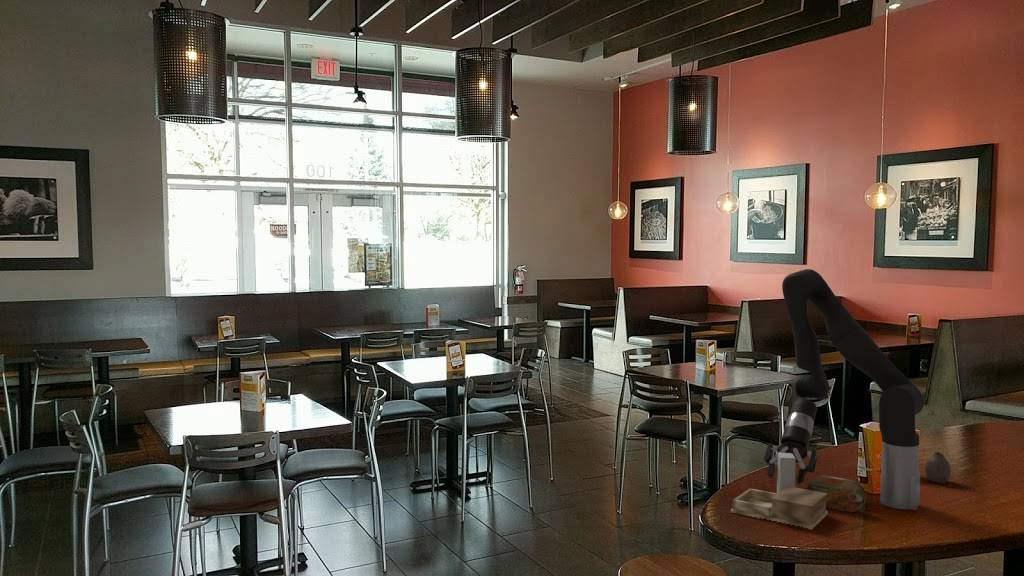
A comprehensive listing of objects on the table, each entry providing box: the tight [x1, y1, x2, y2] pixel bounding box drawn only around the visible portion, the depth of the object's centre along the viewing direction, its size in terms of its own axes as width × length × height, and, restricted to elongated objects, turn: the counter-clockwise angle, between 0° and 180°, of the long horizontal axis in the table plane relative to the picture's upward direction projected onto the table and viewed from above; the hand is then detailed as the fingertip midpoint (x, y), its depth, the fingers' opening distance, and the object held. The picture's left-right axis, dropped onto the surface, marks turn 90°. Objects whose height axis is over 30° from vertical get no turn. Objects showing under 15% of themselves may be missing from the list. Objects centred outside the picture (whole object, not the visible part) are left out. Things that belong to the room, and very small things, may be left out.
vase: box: [924, 451, 952, 484], centre depth 231 cm, size 7×7×9 cm
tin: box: [807, 474, 867, 513], centre depth 208 cm, size 15×3×8 cm, turn 49°
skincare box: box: [776, 451, 797, 494], centre depth 217 cm, size 6×4×12 cm
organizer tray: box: [730, 486, 828, 530], centre depth 203 cm, size 21×14×6 cm, turn 52°
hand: (784, 480), depth 216 cm, fingers open, 7 cm apart
